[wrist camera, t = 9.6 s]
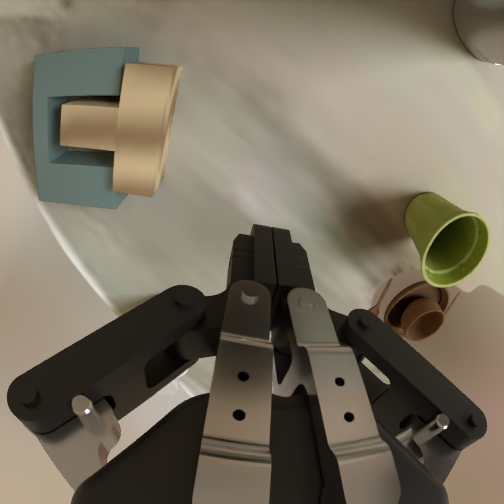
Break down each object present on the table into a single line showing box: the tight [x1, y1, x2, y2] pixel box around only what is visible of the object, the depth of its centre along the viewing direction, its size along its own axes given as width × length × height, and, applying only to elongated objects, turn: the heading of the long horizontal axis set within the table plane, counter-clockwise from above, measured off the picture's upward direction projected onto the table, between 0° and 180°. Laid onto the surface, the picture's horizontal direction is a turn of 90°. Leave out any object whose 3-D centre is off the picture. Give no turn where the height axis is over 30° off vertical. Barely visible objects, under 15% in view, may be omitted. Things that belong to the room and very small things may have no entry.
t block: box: [60, 62, 183, 197], centre depth 25 cm, size 12×10×5 cm
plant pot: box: [405, 193, 490, 287], centre depth 30 cm, size 9×9×9 cm
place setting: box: [370, 278, 460, 341], centre depth 44 cm, size 18×20×6 cm
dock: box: [33, 47, 139, 210], centre depth 25 cm, size 16×10×4 cm, turn 169°
